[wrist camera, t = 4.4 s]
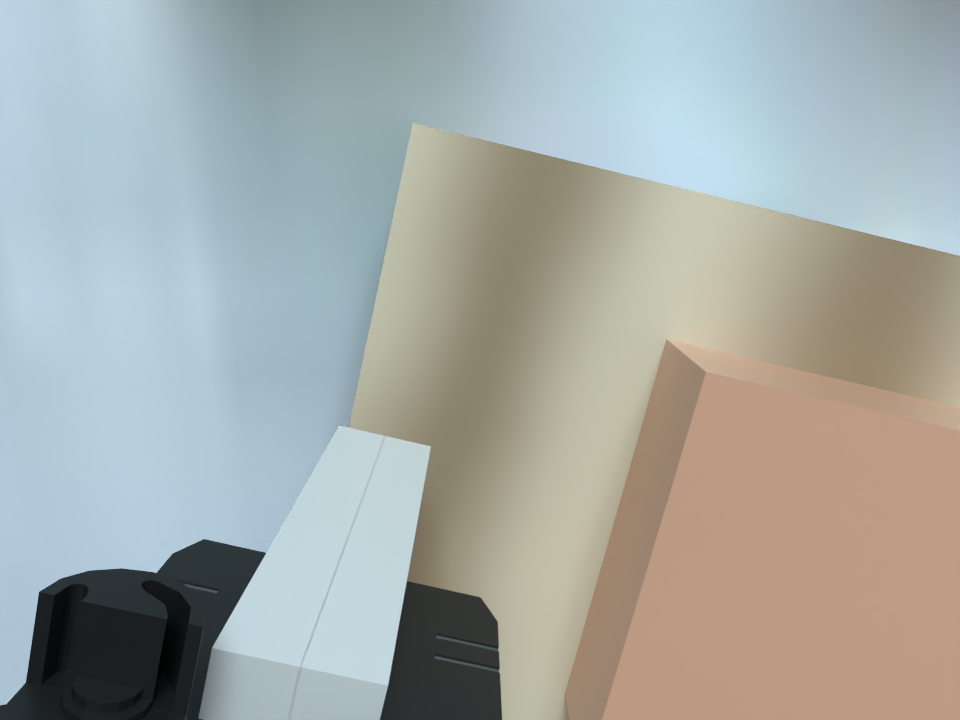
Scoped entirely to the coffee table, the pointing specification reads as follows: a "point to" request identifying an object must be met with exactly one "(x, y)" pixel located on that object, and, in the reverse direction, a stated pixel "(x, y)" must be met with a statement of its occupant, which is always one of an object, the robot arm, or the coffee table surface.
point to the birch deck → (597, 358)
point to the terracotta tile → (778, 553)
